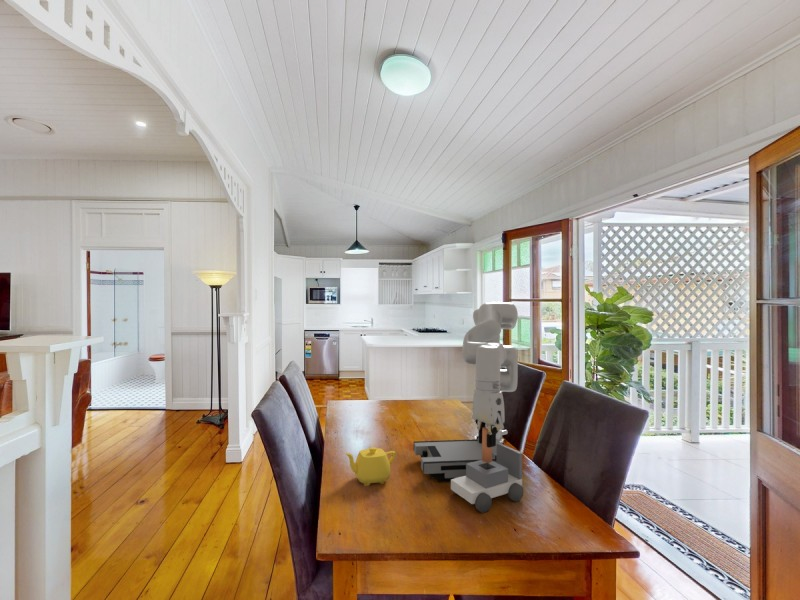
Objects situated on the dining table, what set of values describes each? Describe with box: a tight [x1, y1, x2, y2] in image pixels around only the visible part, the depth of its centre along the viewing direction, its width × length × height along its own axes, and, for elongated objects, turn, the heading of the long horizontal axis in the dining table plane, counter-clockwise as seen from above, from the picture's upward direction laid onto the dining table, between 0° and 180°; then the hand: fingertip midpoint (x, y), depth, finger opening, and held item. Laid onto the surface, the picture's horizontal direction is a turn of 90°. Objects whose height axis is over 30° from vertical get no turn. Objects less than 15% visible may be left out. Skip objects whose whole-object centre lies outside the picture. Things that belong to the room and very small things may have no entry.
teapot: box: [344, 446, 397, 487], centre depth 127 cm, size 18×11×11 cm, turn 110°
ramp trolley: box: [449, 443, 525, 514], centre depth 117 cm, size 20×13×14 cm, turn 119°
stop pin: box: [482, 427, 492, 463], centre depth 117 cm, size 3×3×10 cm
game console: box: [412, 436, 503, 483], centre depth 137 cm, size 21×32×8 cm, turn 98°
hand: (487, 443), depth 117 cm, fingers closed on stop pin, 3 cm apart
